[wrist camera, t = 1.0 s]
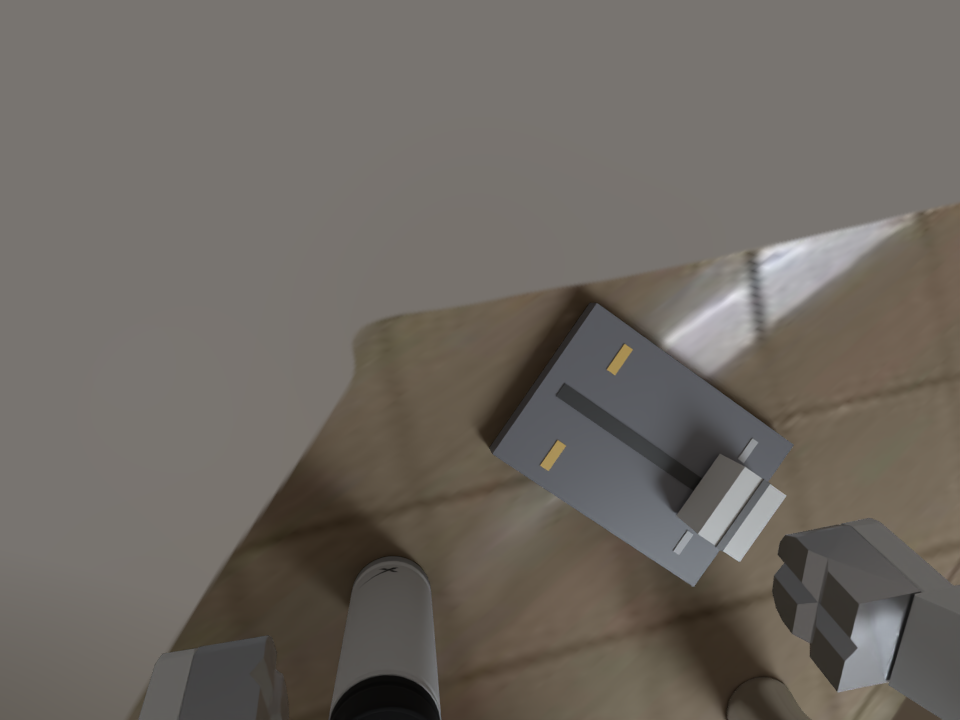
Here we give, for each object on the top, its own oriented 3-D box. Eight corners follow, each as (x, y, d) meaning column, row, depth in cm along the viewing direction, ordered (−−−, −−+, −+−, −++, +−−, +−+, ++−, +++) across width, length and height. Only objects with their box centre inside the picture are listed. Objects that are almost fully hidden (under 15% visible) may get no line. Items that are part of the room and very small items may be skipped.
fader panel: (780, 439, 56) (794, 445, 54) (683, 576, 56) (694, 587, 54) (589, 302, 53) (597, 303, 51) (489, 448, 53) (492, 454, 51)
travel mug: (374, 539, 53) (354, 687, 33) (445, 577, 54) (467, 744, 34) (333, 605, 53) (289, 792, 33) (405, 642, 54) (404, 845, 34)
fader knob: (758, 480, 53) (787, 495, 49) (714, 542, 54) (740, 563, 49) (720, 453, 53) (746, 466, 49) (675, 516, 53) (698, 535, 49)
